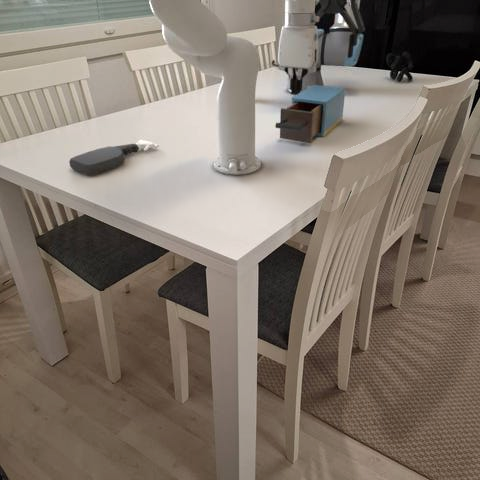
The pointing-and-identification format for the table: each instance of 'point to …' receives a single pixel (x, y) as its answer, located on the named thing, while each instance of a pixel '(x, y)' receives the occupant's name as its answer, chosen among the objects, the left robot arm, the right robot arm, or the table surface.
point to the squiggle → (399, 66)
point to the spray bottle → (106, 157)
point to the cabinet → (325, 104)
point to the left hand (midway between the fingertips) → (295, 93)
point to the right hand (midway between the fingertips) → (328, 55)
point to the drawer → (300, 121)
